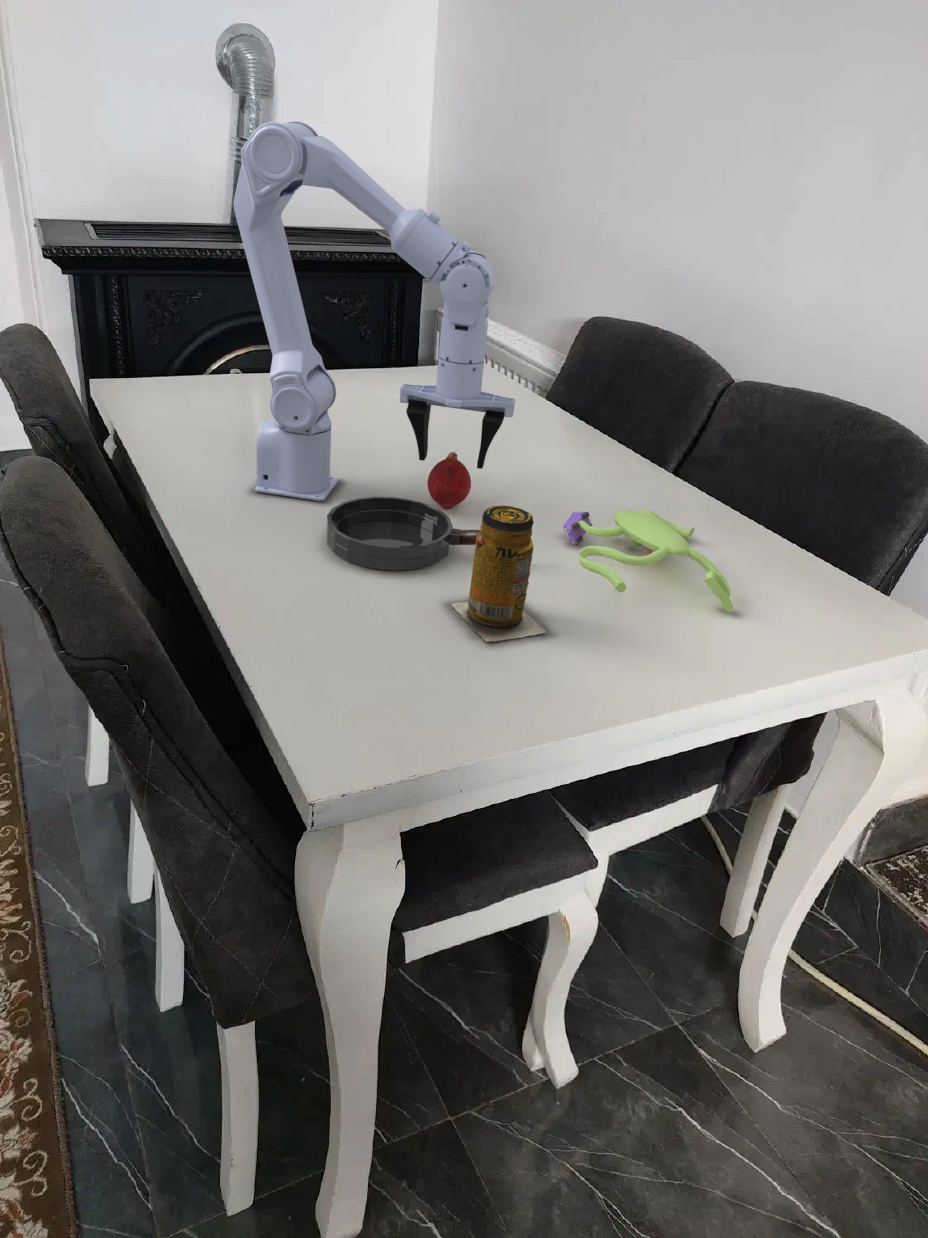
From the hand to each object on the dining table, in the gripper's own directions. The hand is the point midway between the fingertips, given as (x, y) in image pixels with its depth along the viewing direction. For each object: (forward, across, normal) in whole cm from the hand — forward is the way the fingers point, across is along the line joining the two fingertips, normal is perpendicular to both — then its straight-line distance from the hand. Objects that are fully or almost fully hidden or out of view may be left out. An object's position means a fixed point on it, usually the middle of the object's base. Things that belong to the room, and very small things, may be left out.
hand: (451, 462), depth 121 cm
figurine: (+7, +26, -10) cm, 29 cm away
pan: (+7, -5, -14) cm, 16 cm away
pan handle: (+5, +7, -14) cm, 16 cm away
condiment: (+7, +10, -28) cm, 31 cm away
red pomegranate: (+7, 0, 0) cm, 7 cm away
